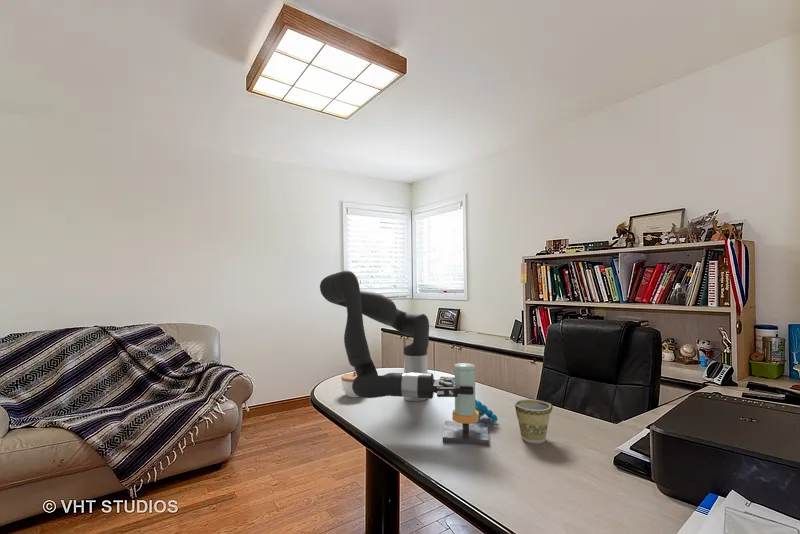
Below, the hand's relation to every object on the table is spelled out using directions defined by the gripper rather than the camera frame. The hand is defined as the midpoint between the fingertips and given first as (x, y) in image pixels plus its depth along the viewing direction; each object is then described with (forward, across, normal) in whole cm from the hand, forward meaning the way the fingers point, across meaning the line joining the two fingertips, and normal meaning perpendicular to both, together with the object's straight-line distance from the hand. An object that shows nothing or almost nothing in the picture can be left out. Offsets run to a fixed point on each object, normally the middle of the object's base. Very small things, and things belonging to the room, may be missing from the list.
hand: (473, 387), depth 117 cm
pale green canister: (-2, 0, +8) cm, 8 cm away
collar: (-2, 0, +10) cm, 10 cm away
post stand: (-2, 0, +14) cm, 15 cm away
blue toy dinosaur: (+3, +13, +15) cm, 20 cm away
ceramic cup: (+18, +1, +14) cm, 23 cm away
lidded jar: (-47, +34, +14) cm, 60 cm away
